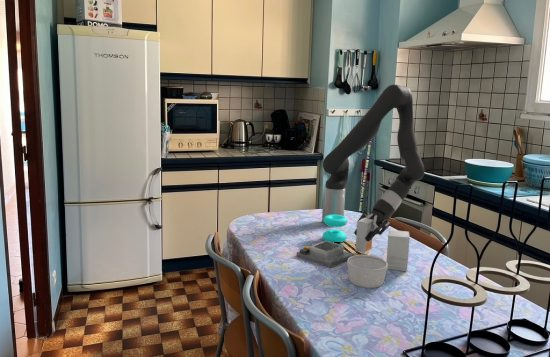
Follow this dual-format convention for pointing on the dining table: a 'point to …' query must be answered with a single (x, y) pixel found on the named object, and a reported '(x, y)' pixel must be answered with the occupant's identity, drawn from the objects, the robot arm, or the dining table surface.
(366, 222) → the skincare box
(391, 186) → the robot arm
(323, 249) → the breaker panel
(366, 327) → the dining table surface
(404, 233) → the supplement box
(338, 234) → the donuts
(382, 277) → the ramekin
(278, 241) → the dining table surface
